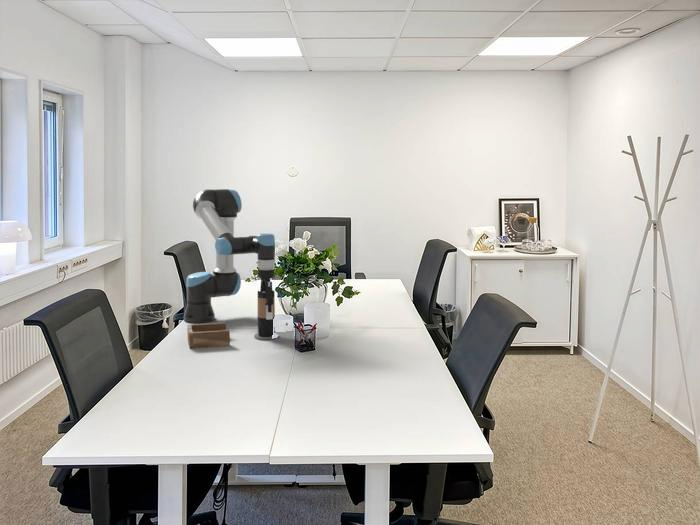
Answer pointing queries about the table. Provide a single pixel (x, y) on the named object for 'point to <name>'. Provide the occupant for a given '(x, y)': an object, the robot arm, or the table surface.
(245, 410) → the table surface
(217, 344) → the frame
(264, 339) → the coaster
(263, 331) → the travel mug
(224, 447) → the table surface
